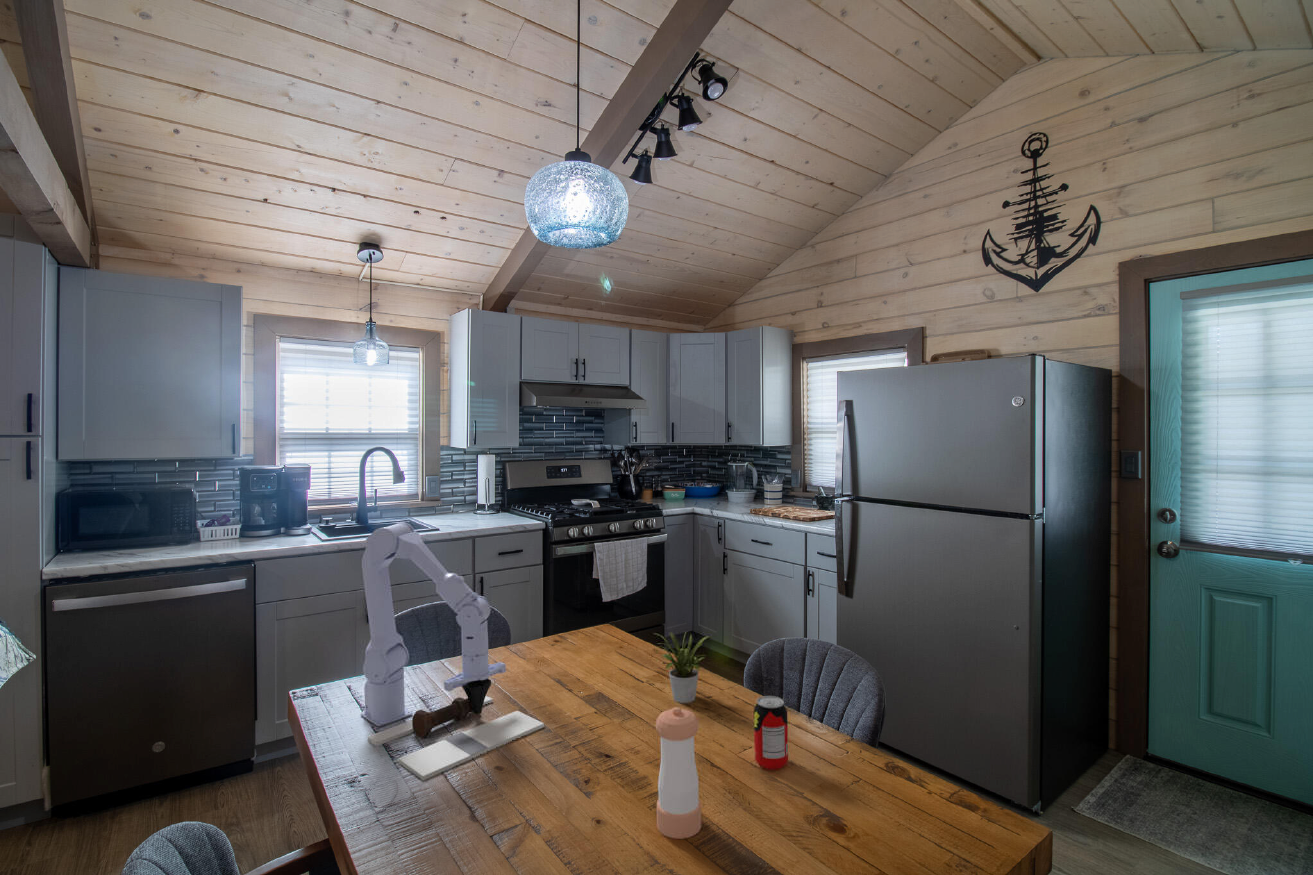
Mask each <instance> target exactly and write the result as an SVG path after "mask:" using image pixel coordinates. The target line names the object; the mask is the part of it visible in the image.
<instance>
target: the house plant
mask: <svg viewBox="0 0 1313 875" xmlns="http://www.w3.org/2000/svg"><path fill="white" fill-rule="evenodd" d="M687 631H688V630H685V633H684V636H683V640H682V647H680V645H679V643H678V641H677V638H676V635H674V634H673V632H670V633H669V636H670V637H671V638H670V639H671V640H672V643H673V644H674V647H675V649H676V651H675V650H674V648H673V647H672V646H671V644H670V643H669V641H668V640H667V639H666V638H665V636H663V635H661V634H658V633H652V634H654V635H657V636H659V637H661V638H662V639H663V640H664V641H665V643H664V645H665V646H667V648H669V649H670V651H671V652H672V653H673V656H674V657H675V659H674V657H673V656H672V654H671V653H670V651H669V650H668V649H667V648H665V647H664V646H657V648H663V649H664V650H665V651H666V652H667V653H663V655H662V656H661V657H662V658H664V659H665V660H668V661H670V662H667V661H664V660H661V661H658V662H659V663H660V662H661V663H663V662H664V663H666V666H665V670H668V669H670V667H671V668H672V669H671V670H669V671H668V676H669V681H670V686H671V692H672V697H673V701H674V702H676V703H680V704H688V703H693V702H694V701H695V700H696V693H697V687H698V679H699V670H700V665H699V663H698V662H700V661H701V660H703V659H704V657H707V655H706V654H705V655H704V654H696V655H694V654H695V653H696V651H697V649H699V647H700V646H702V645H703V642H704V641H705V640H706V639H707V638H709V637H710V635H708V636H705V637H703V638H702V639H700V640H699V641H698V642H697V643H696V645H695V646H694V647H693V649H692V650H691V646H692V643H693V642H692V639H693V638H692V634H690V636H689V639H687V641H685V638H686V634H687ZM687 643H688V644H687ZM660 644H661V645H663V643H662V642H660V643H658V645H660ZM686 644H687V648H685V647H686ZM690 650H691V651H690Z"/></svg>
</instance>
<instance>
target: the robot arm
mask: <svg viewBox="0 0 1313 875" xmlns="http://www.w3.org/2000/svg"><path fill="white" fill-rule="evenodd" d="M365 542H366V547H365V551H364V553H363V555H362V559H361V569H362V577H363V578H362V580H363V586H364V587H363V588H364V592H365V593H364V594H365V601H366V602H365V603H366V609H367V610H366V611H367V616H368V617H367V618H368V625H369V634H370V640H369V642H368V645H367V647H366V649H365V651H364V654H365V660H364V663H363V665H362V667H363V668H362V670H363V674H364V677H365V679H366V681H365V683H364V711H363V712H361V713H360V716H362V717H363V718H365V719H366V720H368V721H369V722H371V723H372V724H374V725H375V726H377V727H381V726H385V725H387V724H391V723H394V722H395V721H399V720H401V719H404V718H407V717H410V716H412V715H413V712H412V711H411V710H408V709H407V708H405V707H406V706H405V705H406V703H405V675H404V674H405V673H404V672H405V666H407V665H408V662H409V660H410V654H409V650H408V648H407V647H406V645H405V643H404V638H403V636H402V635H400V634H399V633H398V632H397V625H396V618H395V610H394V603H393V602H394V601H393V595H392V587H391V578H390V572H389V565H390V564H391V563H392V562H393V561H394V559H395V558H396V559H404V560H410V561H412V562H413V563H414V564H415V565H417V567H418V568H419V569H420V570H422V572H424V574H426V575H427V577H429V578H430V579H431V580H432V581H433V582H434V583H435V592H436V594H438V595H439V597H441V599H442V600H443V601H444V602H445V603H446V604H447V605H448V606H449V607H450V608H451V609H452V610H453V611H454V613H455V614H457V615H455V619H456V622H457V624H458V625H459V627H460V629H461V632H460V633H461V666H462V668H461V669H462V671H461V672H459V673H458V674H456V675H453V676H452V677H449V678H447V679H446V680H445V679H444V681H443V688H444V690H445V691H446V692H452V691H453V690H454V689H456V688H460V687H461V688H462V690H463V691H464V693H465V695H466V697H467V698H468V699H469V702H470V705H471V709H472V712H471V713H473V714H475V715H480V714H482V711H483V707H484V706H483V703H484V700H485V696H487V694H488V691H489V689H490V687H491V685H492V680H491V679H489V678H490V677H491V676H495V675H497V674H504V673H506V672H507V670H506V663H504V662H500V661H499V662H496V663H492V664H489V636H488V635H489V633H488V619H487V618H489V616H490V614H491V611H492V608H491V603H489V601H488V599H487V598H486V597H485V596H482V595H479V594H478V593H477V592H476V591H475V592H474V591H473V590H472V589H471V588H470V587H469V585H468V584H466V582H465V577H463V576H462V575H458V574H457V573H455V572H448V571H447V570H446V568H445V567H444V566H443V565H442V563H441V562H440V561H439V559H438V558H437V557H436V556H435V555H434V554H433V552H432V551H431V550H430V548H429V547H428V546H427V545H426V543H425V542H424V541H423V539H422V536H421V534H420V533H419V532H417V530H415V529H414V528H413V526H412V525H411V524H409V523H407V522H404V521H402V522H397V523H395V524H393V525H388V526H385V527H380V528H376V529H375V530H374V531H373V532H371V534H370V535H369V536H367V538H366V539H365Z"/></svg>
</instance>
